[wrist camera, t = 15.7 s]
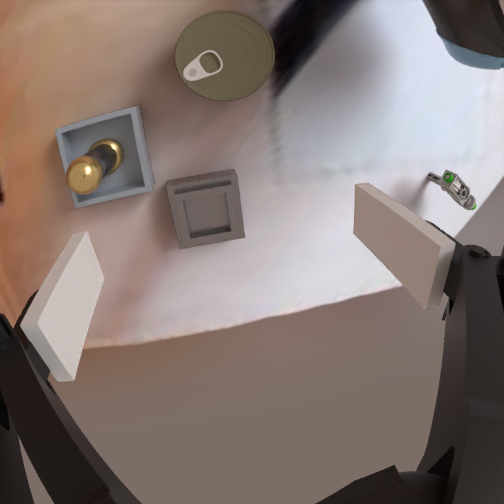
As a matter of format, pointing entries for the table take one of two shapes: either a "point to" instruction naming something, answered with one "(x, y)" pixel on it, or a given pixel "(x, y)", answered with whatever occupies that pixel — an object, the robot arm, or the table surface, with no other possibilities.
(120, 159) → the strut
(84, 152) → the tray
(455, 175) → the mechanical component
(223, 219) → the recessed square block
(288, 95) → the table surface
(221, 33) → the can
